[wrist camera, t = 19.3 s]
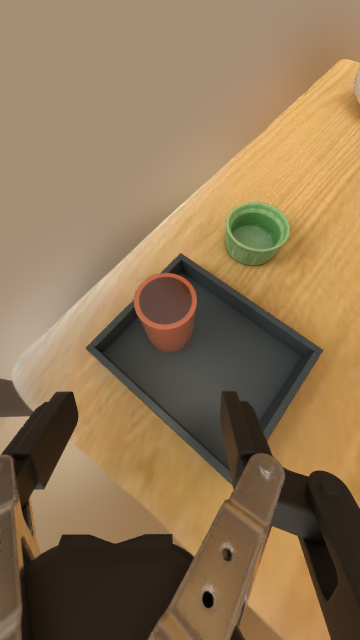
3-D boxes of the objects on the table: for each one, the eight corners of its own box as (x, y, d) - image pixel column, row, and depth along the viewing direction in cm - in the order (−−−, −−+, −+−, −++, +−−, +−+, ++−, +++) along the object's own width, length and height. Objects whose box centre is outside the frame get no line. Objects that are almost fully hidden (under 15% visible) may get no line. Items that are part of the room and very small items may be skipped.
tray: (229, 479, 25) (236, 489, 22) (95, 354, 31) (85, 347, 27) (308, 356, 30) (323, 350, 27) (180, 267, 35) (180, 252, 32)
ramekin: (210, 250, 37) (214, 230, 32) (240, 215, 39) (247, 192, 35) (260, 279, 34) (271, 261, 30) (288, 240, 37) (301, 219, 33)
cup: (172, 362, 29) (168, 342, 21) (137, 332, 31) (120, 303, 23) (202, 326, 31) (209, 295, 23) (167, 300, 33) (162, 262, 24)
